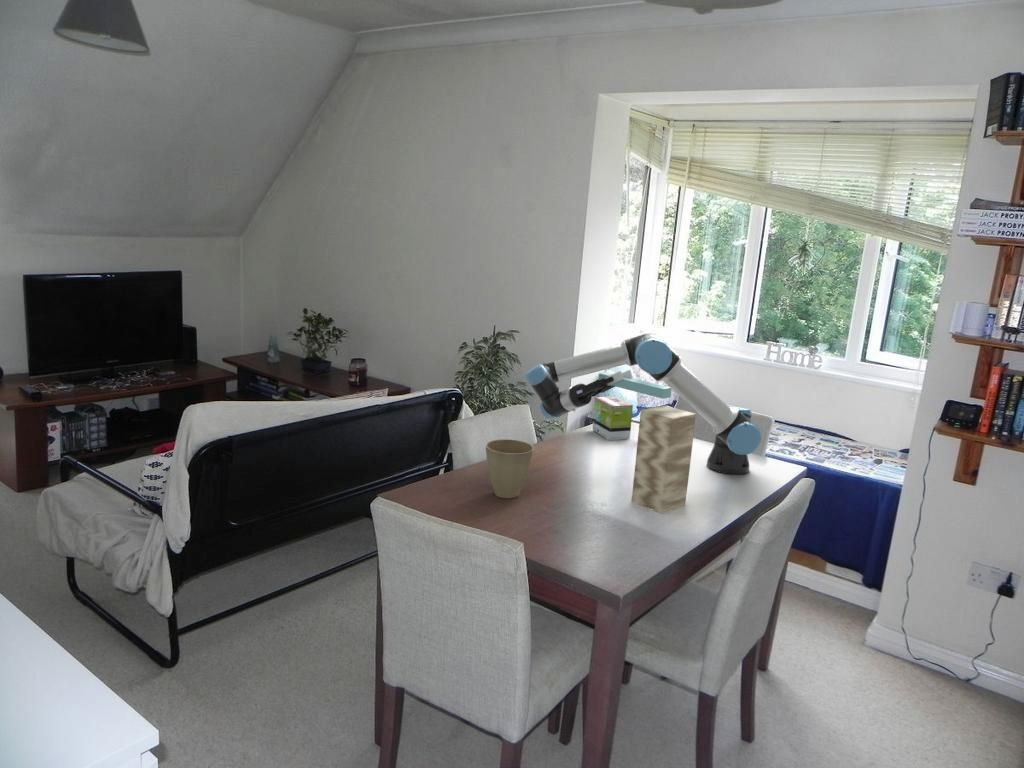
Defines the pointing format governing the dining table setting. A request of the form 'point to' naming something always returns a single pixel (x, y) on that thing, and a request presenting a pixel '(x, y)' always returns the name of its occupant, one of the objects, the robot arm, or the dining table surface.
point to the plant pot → (508, 465)
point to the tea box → (612, 418)
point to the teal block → (640, 386)
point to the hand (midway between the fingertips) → (626, 374)
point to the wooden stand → (663, 458)
